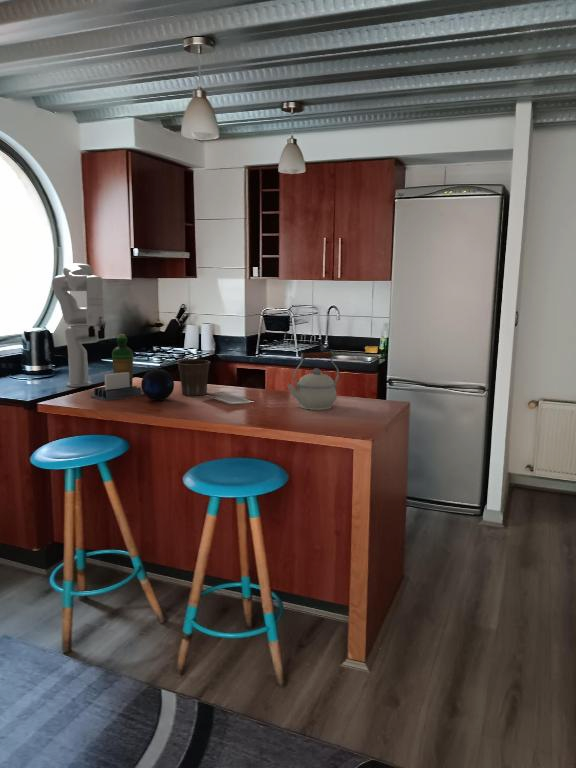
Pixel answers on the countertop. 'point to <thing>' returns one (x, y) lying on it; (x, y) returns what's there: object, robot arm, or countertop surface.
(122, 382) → the small white box
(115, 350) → the bottle
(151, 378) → the decorative sphere
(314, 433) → the countertop surface
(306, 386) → the kettle
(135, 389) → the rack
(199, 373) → the plant pot
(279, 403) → the countertop surface
